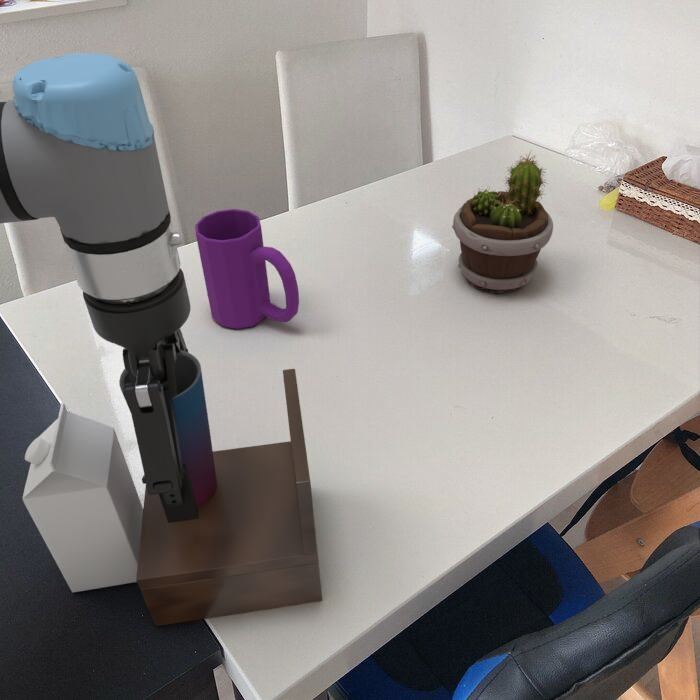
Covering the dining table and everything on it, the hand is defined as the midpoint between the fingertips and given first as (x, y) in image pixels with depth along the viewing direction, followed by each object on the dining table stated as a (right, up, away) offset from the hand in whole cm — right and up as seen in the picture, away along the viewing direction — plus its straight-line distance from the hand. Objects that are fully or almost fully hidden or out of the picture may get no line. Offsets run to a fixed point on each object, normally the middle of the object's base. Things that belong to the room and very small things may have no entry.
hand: (185, 469), depth 65 cm
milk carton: (-9, -10, +5) cm, 14 cm away
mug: (+2, +16, +36) cm, 40 cm away
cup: (0, -2, +2) cm, 3 cm away
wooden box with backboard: (+4, -9, +5) cm, 11 cm away
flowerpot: (+39, +23, +43) cm, 63 cm away
